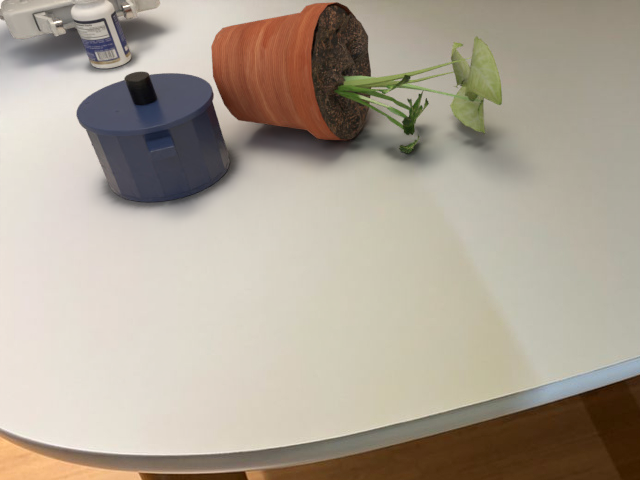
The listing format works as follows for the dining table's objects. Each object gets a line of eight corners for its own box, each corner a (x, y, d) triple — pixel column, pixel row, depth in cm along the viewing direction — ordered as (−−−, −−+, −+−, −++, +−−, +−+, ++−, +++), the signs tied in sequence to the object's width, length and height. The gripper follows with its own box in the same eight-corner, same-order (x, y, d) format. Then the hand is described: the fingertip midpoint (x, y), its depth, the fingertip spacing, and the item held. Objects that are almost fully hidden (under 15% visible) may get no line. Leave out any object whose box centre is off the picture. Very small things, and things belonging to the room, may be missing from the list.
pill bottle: (112, 51, 113) (84, -22, 107) (140, 56, 111) (114, -18, 105) (82, 66, 110) (52, -9, 103) (111, 72, 108) (82, -4, 101)
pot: (119, 227, 80) (89, 158, 74) (103, 150, 92) (76, 86, 86) (245, 194, 83) (225, 127, 78) (213, 125, 95) (194, 62, 90)
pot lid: (86, 154, 76) (70, 118, 74) (76, 100, 85) (61, 66, 83) (226, 122, 80) (216, 86, 77) (203, 74, 89) (193, 40, 86)
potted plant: (227, 172, 90) (530, 177, 81) (179, 31, 80) (516, 19, 71) (289, 117, 102) (560, 116, 92) (253, -12, 92) (552, -27, 83)
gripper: (-17, -14, 109) (1, 14, 101) (133, -45, 117) (162, -21, 109) (4, 33, 114) (23, 63, 105) (148, 0, 122) (176, 26, 113)
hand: (95, 20), depth 107 cm, fingers open, 8 cm apart
